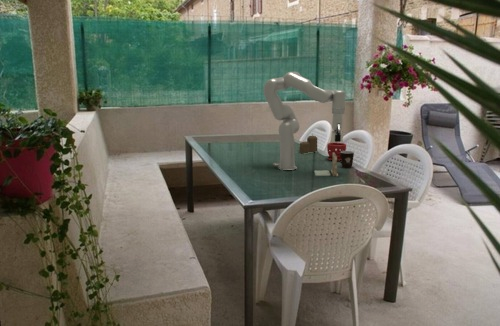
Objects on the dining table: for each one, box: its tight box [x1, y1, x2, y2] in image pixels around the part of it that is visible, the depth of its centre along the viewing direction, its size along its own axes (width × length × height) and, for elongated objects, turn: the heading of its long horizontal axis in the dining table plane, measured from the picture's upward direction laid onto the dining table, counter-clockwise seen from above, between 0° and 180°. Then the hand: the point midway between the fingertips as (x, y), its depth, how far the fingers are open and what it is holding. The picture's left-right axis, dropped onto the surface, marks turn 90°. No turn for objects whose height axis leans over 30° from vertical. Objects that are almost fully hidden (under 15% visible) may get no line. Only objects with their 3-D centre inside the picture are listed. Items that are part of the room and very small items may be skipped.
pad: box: [313, 170, 331, 177], centre depth 264 cm, size 9×11×1 cm
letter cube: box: [331, 130, 344, 143], centre depth 259 cm, size 7×6×6 cm
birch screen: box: [330, 153, 339, 177], centre depth 263 cm, size 3×13×12 cm, turn 176°
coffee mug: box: [336, 150, 355, 169], centre depth 280 cm, size 12×9×10 cm
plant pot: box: [326, 142, 347, 162], centre depth 301 cm, size 13×13×12 cm
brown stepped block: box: [299, 133, 318, 153], centre depth 331 cm, size 14×14×15 cm
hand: (336, 140), depth 259 cm, fingers closed on letter cube, 6 cm apart
